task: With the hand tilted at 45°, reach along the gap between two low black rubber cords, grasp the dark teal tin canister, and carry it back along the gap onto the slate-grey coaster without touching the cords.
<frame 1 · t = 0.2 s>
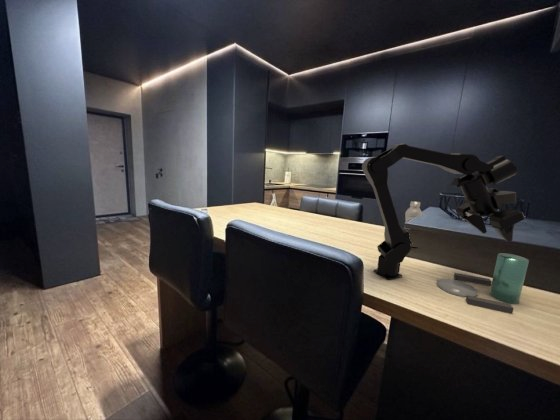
hand: (496, 236, 73), 15 cm above the worktop, tool tilted 30°, fingers open, 9 cm apart
plastic bottle: (409, 246, 107), on the worktop
slate coaster: (456, 288, 71), on the worktop
cord left: (471, 281, 75), on the worktop
tin canister: (503, 297, 66), on the worktop
cord right: (488, 306, 62), on the worktop
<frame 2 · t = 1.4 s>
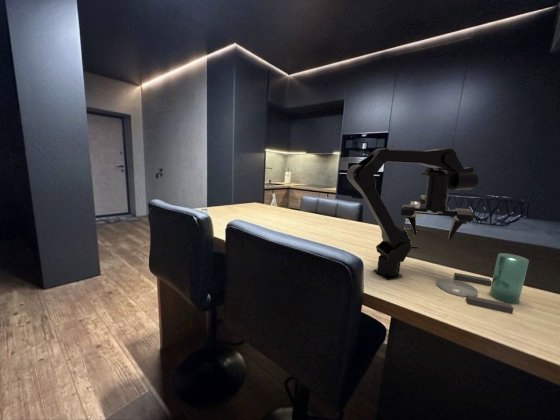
hand: (431, 238, 77), 13 cm above the worktop, tool pointing down, fingers open, 9 cm apart
nothing on the worktop moved.
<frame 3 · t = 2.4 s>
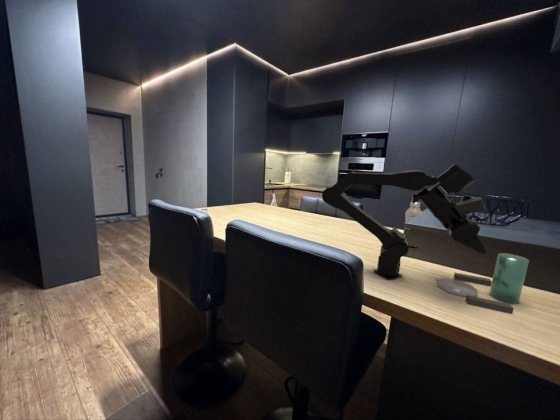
hand: (478, 247, 67), 13 cm above the worktop, tool tilted 45°, fingers open, 9 cm apart
nothing on the worktop moved.
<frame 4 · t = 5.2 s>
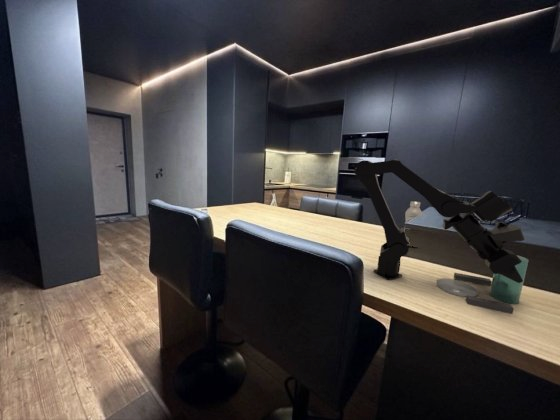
hand: (515, 276, 64), 7 cm above the worktop, tool tilted 45°, fingers closed on tin canister, 6 cm apart
tin canister: (503, 297, 66), on the worktop, touching gripper
everything else where it was.
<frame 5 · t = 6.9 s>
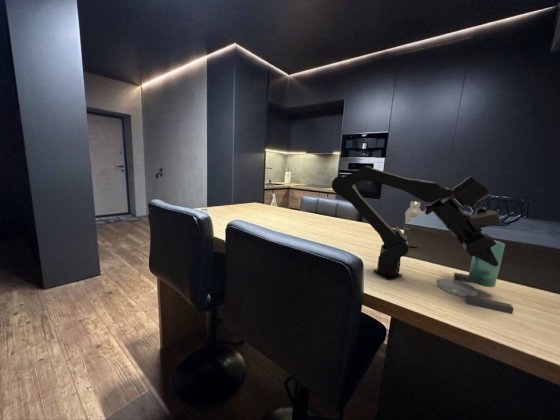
hand: (492, 261, 66), 10 cm above the worktop, tool tilted 45°, fingers closed on tin canister, 6 cm apart
tin canister: (481, 281, 68), point 3 cm above the worktop, touching gripper
everything else where it was.
when the fingers open (9 cm above the worktop, at t = 8.8 s): tin canister drops 1 cm, resting on slate coaster.
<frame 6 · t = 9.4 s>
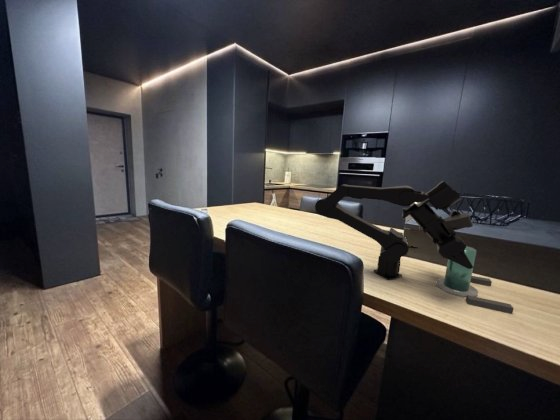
hand: (466, 261, 68), 9 cm above the worktop, tool tilted 45°, fingers open, 9 cm apart
tin canister: (456, 286, 71), point 1 cm above the worktop, touching slate coaster
everything else where it was.
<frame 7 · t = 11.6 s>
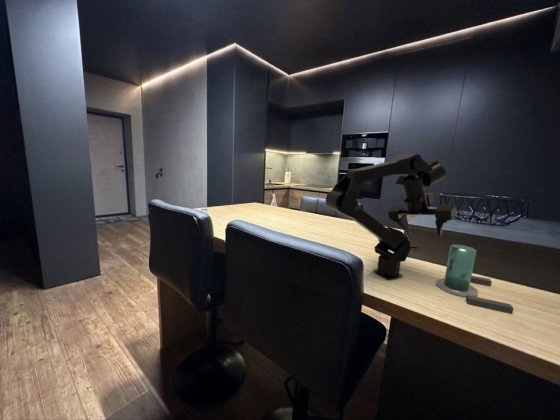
hand: (424, 234, 80), 13 cm above the worktop, tool tilted 25°, fingers open, 9 cm apart
nothing on the worktop moved.
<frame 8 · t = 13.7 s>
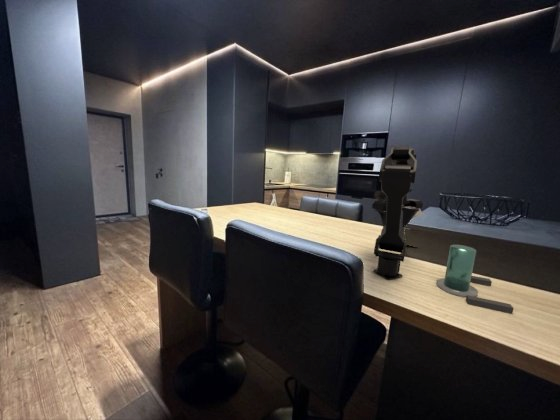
hand: (394, 227, 87), 13 cm above the worktop, tool pointing down, fingers open, 9 cm apart
nothing on the worktop moved.
at the end: tin canister 0.1 cm off-centre on the slate coaster, point 0.6 cm above the slate coaster's base; tin canister tilted 0°; the gripper is holding nothing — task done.
